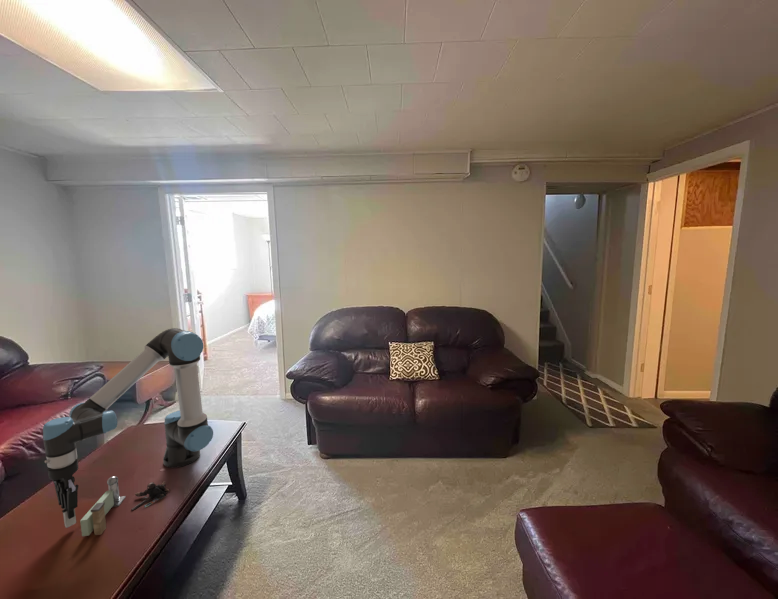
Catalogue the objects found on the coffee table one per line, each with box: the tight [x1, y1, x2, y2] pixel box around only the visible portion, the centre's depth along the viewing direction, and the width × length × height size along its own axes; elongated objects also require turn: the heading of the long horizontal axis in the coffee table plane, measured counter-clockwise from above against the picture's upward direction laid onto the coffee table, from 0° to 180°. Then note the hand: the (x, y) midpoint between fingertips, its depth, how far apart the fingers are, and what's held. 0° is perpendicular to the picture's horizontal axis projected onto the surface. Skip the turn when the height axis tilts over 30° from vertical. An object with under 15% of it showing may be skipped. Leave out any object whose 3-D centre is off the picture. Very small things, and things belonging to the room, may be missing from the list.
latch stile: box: [90, 502, 107, 536], centre depth 120 cm, size 2×3×10 cm
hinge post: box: [106, 475, 126, 508], centre depth 134 cm, size 5×5×11 cm
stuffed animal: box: [130, 481, 170, 511], centre depth 138 cm, size 12×10×12 cm
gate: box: [79, 490, 114, 537], centre depth 125 cm, size 15×2×6 cm, turn 12°
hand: (70, 524), depth 121 cm, fingers closed
